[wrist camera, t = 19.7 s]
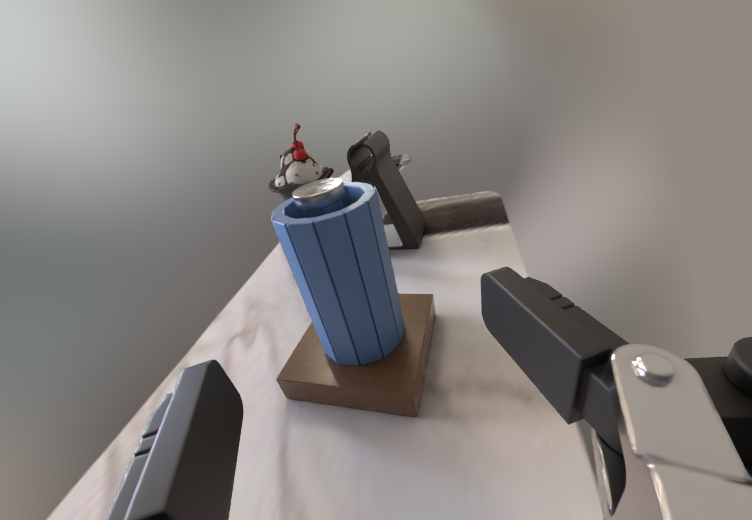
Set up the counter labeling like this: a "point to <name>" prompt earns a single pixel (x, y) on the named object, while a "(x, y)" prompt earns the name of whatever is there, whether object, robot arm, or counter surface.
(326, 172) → the sundae
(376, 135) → the phone stand
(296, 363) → the wooden base post
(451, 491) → the counter surface
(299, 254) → the blue sleeve
